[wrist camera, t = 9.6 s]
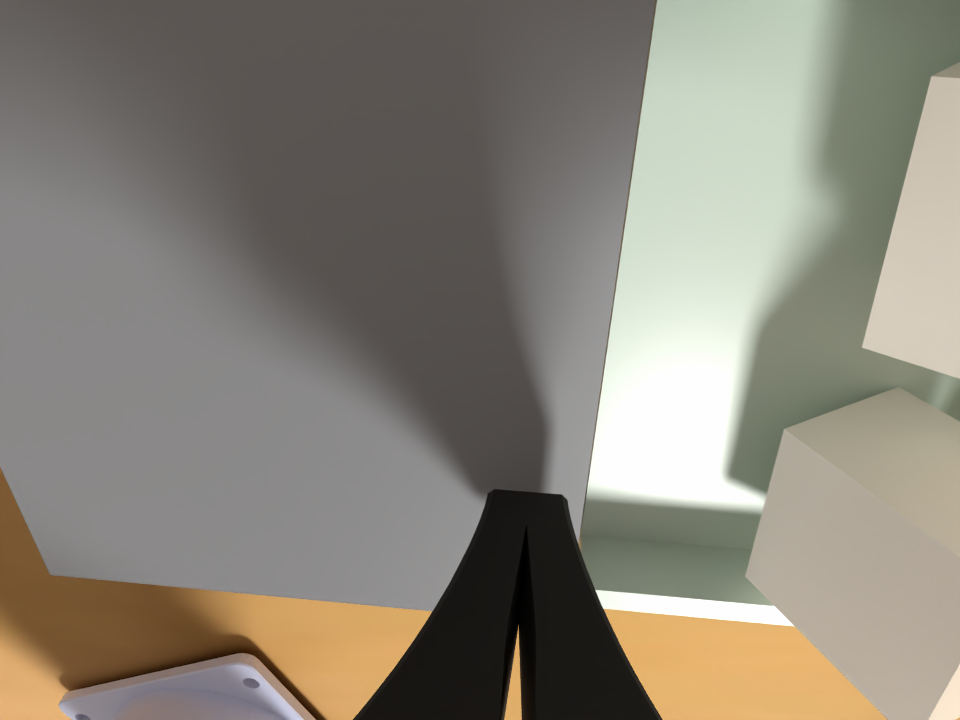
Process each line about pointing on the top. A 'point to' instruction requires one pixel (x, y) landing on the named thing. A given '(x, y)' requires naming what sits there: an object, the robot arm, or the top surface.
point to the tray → (748, 277)
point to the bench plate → (305, 279)
